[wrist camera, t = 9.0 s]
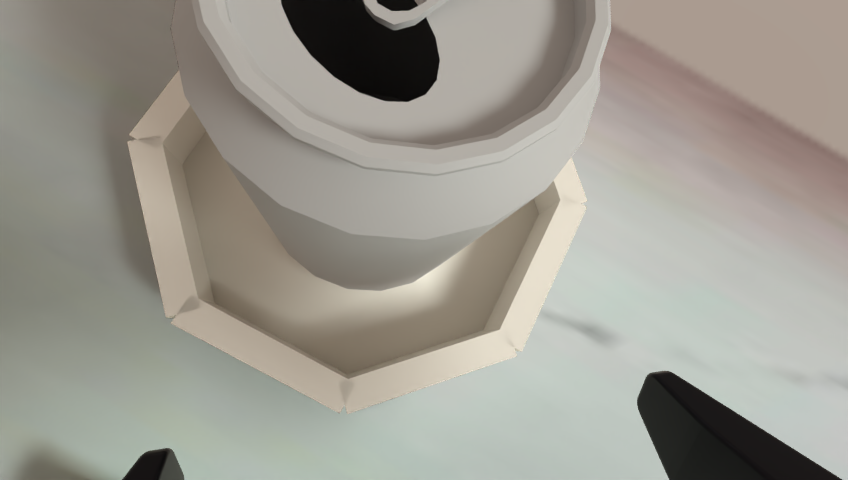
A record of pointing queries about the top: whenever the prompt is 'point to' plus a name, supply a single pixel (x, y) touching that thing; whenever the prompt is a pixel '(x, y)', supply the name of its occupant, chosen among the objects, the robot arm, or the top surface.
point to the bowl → (324, 301)
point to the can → (390, 117)
